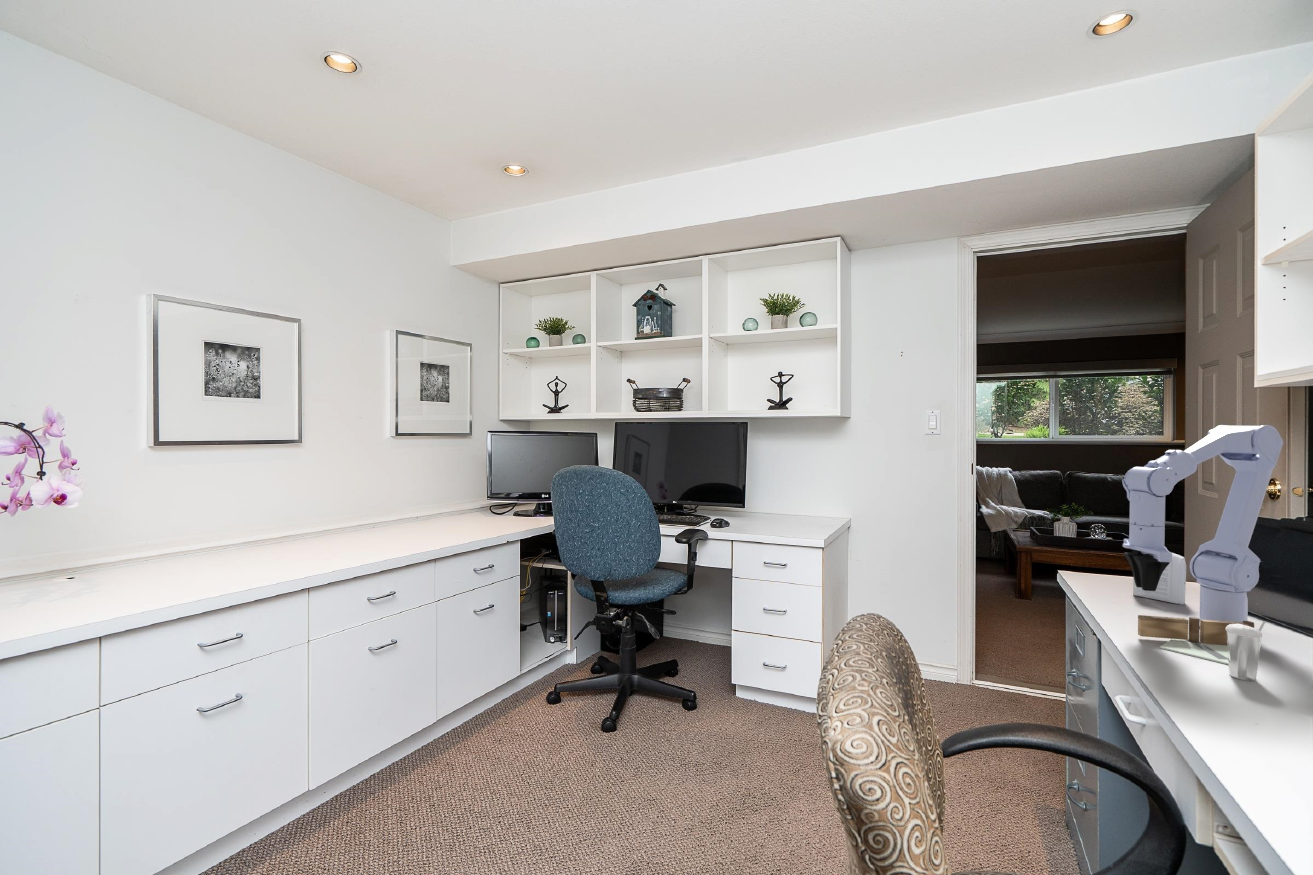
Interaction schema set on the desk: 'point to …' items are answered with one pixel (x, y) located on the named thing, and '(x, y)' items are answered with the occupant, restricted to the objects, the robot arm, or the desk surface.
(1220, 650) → the card
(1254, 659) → the milkshake
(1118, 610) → the desk surface
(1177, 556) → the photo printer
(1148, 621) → the fence wing
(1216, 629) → the fence fixed
